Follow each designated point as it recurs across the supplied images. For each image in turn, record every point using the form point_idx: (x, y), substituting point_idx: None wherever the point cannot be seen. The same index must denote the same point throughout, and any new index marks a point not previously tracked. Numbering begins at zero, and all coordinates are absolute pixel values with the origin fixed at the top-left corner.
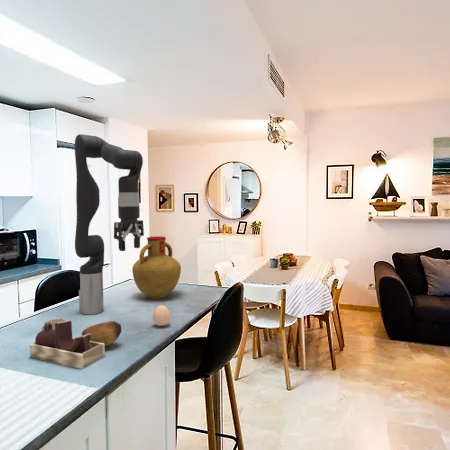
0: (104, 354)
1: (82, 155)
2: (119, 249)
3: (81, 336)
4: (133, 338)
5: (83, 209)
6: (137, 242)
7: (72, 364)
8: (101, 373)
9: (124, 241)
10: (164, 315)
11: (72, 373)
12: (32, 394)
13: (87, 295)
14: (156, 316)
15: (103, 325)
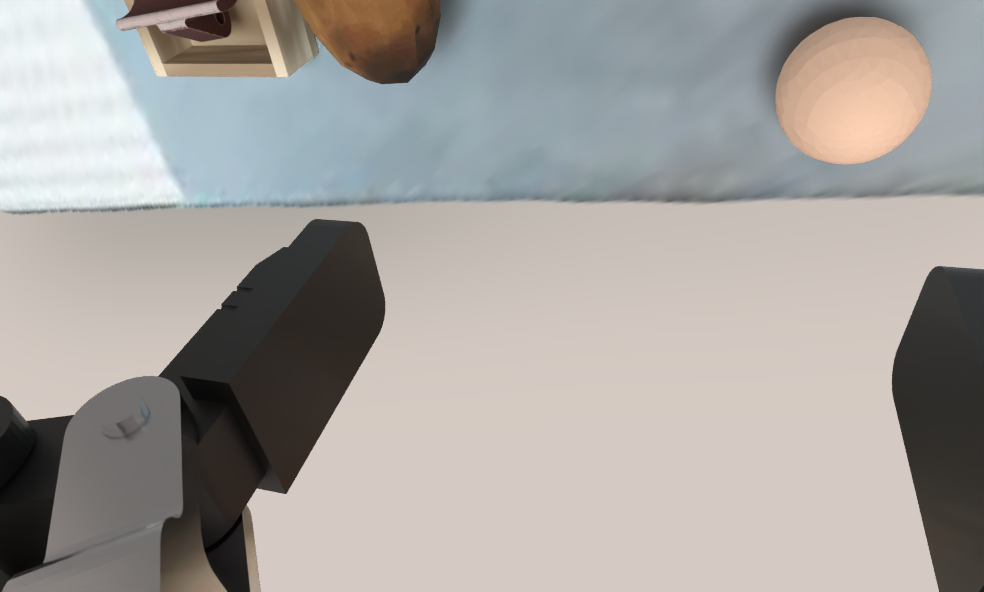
0: (313, 56)
1: None
2: (311, 231)
3: (155, 23)
4: (557, 32)
5: None
6: (937, 474)
7: None
8: (233, 148)
9: (270, 473)
10: (799, 148)
11: None
12: (16, 43)
13: None
14: (779, 95)
15: (319, 5)
